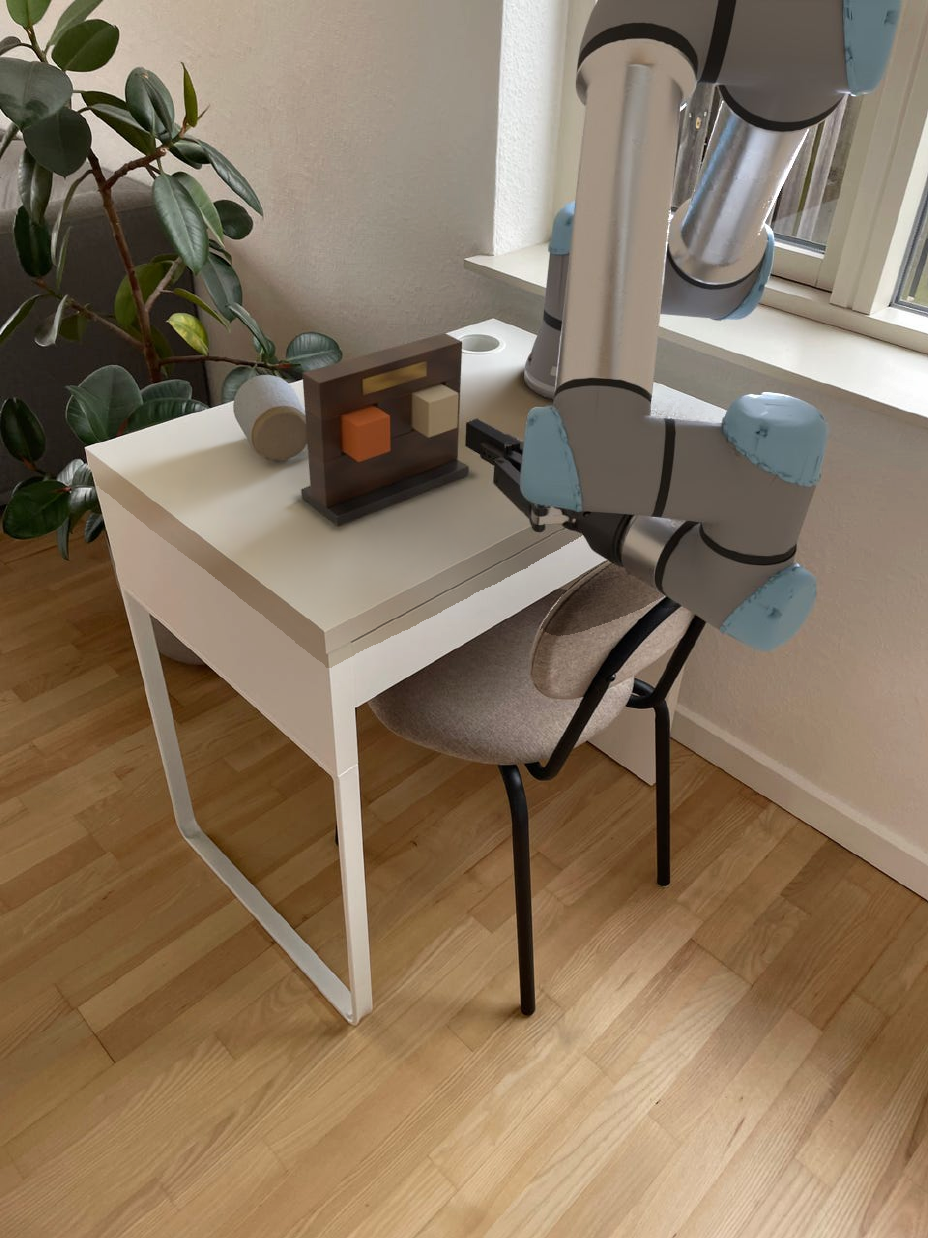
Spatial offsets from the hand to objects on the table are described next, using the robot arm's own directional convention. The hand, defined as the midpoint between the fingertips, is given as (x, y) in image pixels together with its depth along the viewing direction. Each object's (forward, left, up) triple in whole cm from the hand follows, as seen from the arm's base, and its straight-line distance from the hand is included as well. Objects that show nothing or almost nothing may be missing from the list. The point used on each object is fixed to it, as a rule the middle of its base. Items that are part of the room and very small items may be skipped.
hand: (471, 432), depth 96 cm
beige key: (0, -7, -2) cm, 7 cm away
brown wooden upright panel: (+4, -9, -9) cm, 13 cm away
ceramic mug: (+8, -23, -9) cm, 26 cm away
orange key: (+9, -7, -2) cm, 11 cm away
